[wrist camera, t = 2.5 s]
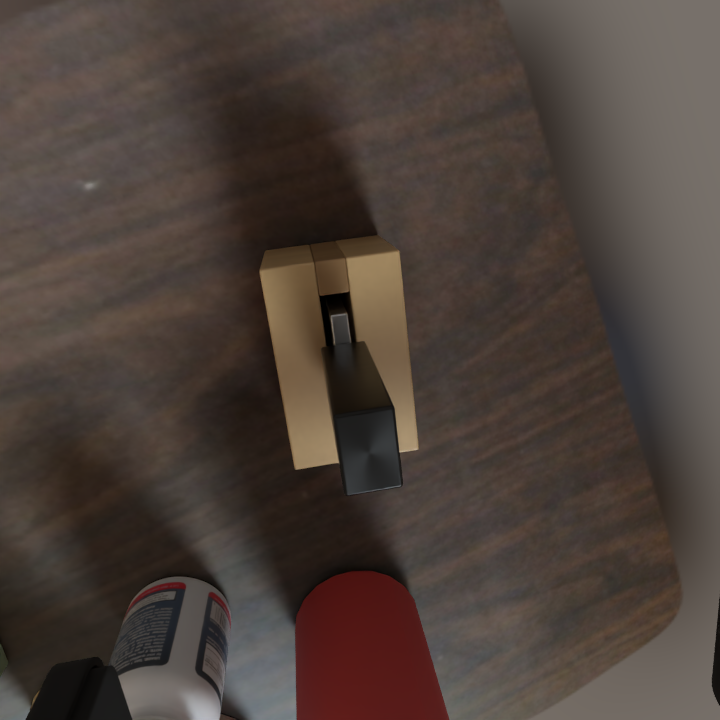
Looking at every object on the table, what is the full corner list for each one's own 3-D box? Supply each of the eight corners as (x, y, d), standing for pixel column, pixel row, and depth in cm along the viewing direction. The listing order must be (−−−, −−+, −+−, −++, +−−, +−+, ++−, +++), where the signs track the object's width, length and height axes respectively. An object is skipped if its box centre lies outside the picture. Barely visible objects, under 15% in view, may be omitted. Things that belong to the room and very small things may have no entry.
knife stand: (264, 250, 25) (258, 269, 20) (378, 234, 25) (399, 249, 20) (293, 419, 27) (294, 470, 23) (397, 402, 28) (419, 450, 23)
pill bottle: (112, 637, 30) (44, 819, 22) (150, 559, 29) (94, 719, 21) (208, 666, 31) (179, 847, 23) (248, 592, 30) (233, 755, 22)
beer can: (413, 555, 31) (486, 782, 19) (417, 652, 33) (485, 907, 21) (288, 572, 30) (289, 816, 19) (301, 670, 32) (308, 942, 21)
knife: (309, 284, 26) (327, 377, 14) (345, 279, 26) (390, 367, 14) (324, 379, 27) (350, 531, 16) (357, 374, 27) (407, 521, 16)
